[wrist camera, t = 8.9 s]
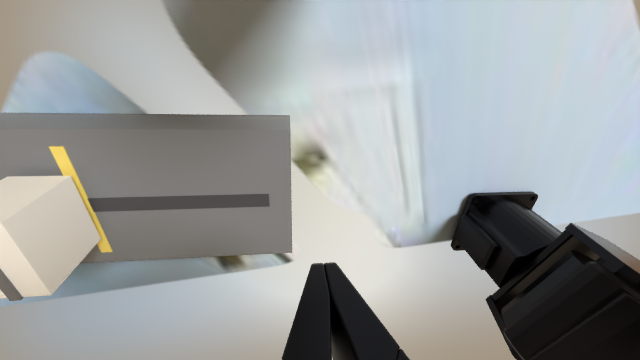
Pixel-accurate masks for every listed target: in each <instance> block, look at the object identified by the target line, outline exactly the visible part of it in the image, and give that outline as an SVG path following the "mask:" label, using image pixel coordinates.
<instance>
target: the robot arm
mask: <svg viewBox="0 0 640 360" xmlns="http://www.w3.org/2000/svg"><path fill="white" fill-rule="evenodd" d="M537 198H538V195H537V194H535V193H534V192H499V193H474V194H471V195H470V196H469V198H468V200H467V203H466V206H465V208H464V211H463V214H462V216H461V219H460V221H459V224H458V227H457V229H456V232H455V235H454V237H453V240H452V243H451V247H452V248H453V250H456V251H457V250H465V251H466V252H468V254H469V255H470V257H471V258H472V259H473V260H474V261H475V263H476V264H477V265H478V267H479V268H480V269H481V270H485V271H486V272H487V273H488V274H489V276H490V277H491V278H492V279H493V281H494V282H495V283H496V284H497V285H498V287H499V288H500V289H499V290H497V291H496V292H495V293H494V294H493V295H490V296H489V297H488V298H487V299H486V301H487V303H488V306H489V308H490V310H491V312H492V314H493V316H494V318H495V320H496V322H497V324H498V326H499V328H500V330H501V333H502V335H503V337H504V339H505V341H506V343H507V345H508V347H509V349H510V351H511V353H512V355H513V356H514V358H516V359H517V360H640V260H638V259H637V258H635V257H634V256H632V255H630V254H629V253H627V252H626V251H624V250H622V249H621V248H619V247H618V246H616V245H615V244H613V243H611V242H610V241H608V240H606V239H604V238H602V237H600V236H598V235H596V234H594V233H591V232H589V231H587V230H585V229H583V228H581V227H579V226H576V225H575V224H573V223H570V224H569V225H568V226H567V227H566V228H565V229H566V230H565V231H564V232H561V231H559V230H558V229H556V228H555V227H554V226H553V225H551V224H550V223H548V222H547V221H546V220H544V219H543V218H542V217H540V216H539V215H538V214H536V213H535V212H534V211H532V208H533V206H534V204H535V202H536V200H537ZM474 199H475V200H474ZM399 348H400V347H399V345H398V344H397V343H396V341H395V340H394V339H393V337H392V336H391V335H390V333H389V332H388V331H387V329H386V328H385V327H384V325H383V324H382V323H381V322H380V320H379V319H378V318H377V316H376V315H375V314H374V312H373V311H372V310H371V308H370V307H369V306H368V304H367V303H366V302H365V300H364V299H363V298H362V297H361V295H360V294H359V293H358V291H357V290H356V289H355V287H354V286H353V285H352V284H351V282H350V281H349V280H348V278H347V277H346V275H345V274H344V273H343V272H342V270H341V269H340V268H339V266H338V265H337V264H336V263H325V264H324V265H323V263H315V264H312V265H311V268H310V271H309V274H308V277H307V280H306V283H305V287H304V290H303V293H302V296H301V299H300V302H299V306H298V309H297V312H296V315H295V319H294V321H293V325H292V328H291V331H290V334H289V337H288V340H287V344H286V347H285V350H284V353H283V356H282V360H332V356H333V360H410V359H409V358H408V357H407V356H406V354H405V353H404V352H403V350H402V349H399Z"/></svg>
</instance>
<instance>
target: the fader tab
mask: <svg viewBox="0 0 640 360" xmlns="http://www.w3.org/2000/svg"><path fill="white" fill-rule="evenodd" d="M100 239H101V238H100V236H99V234H98V232H97V230H96V228H95V225H94V223H93V221H92V219H91V217H90V215H89V213H88V211H87V209H86V207H85V205H84V203H83V201H82V199H81V196H80V194H79V192H78V190H77V188H76V186H75V184H74V182H73V180H72V178H71V176H9V177H6V178H4V179H2V180H0V298H8V299H9V300H10V301H15V300H21V299H22V298H23V297H30V296H46V295H52V294H53V293H54V292H55V291H56V290H57V289H58V287H59V286H60V285H61V284H62V283H63V282H64V281H65V279H66V278H67V277H68V276H69V275H70V274H71V273H72V271H73V270H74V269H75V268H76V267H77V266H78V265H79V263H80V262H81V261H82V260H83V259H84V258H85V257H86V255H87V254H88V253H89V252H90V251H91V250H92V249H93V247H94V246H95V245H96V244H97V243H98V242H99V241H100Z"/></svg>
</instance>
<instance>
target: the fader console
mask: <svg viewBox="0 0 640 360" xmlns="http://www.w3.org/2000/svg"><path fill="white" fill-rule="evenodd" d="M9 176H71V178H72V180H73V182H74V184H75V186H76V188H77V190H78V192H79V194H80V196H81V199H82V201H83V203H84V205H85V207H86V209H87V211H88V213H89V215H90V217H91V219H92V221H93V223H94V225H95V228H96V230H97V232H98V234H99V236H100V238H101V239H100V241H99V242H98V243H97V244H96V245H95V246H94V247H93V249H92V250H91V251H90V252H89V253H88V254H87V255H86V257H85V258H84V259H83V260H82V261H81V262H80V263H94V262H114V261H134V260H153V259H173V258H193V257H213V256H232V255H252V254H272V253H292V217H291V216H292V215H291V148H290V115H180V114H177V115H176V114H70V113H0V180H2V179H4V178H6V177H9Z"/></svg>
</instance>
